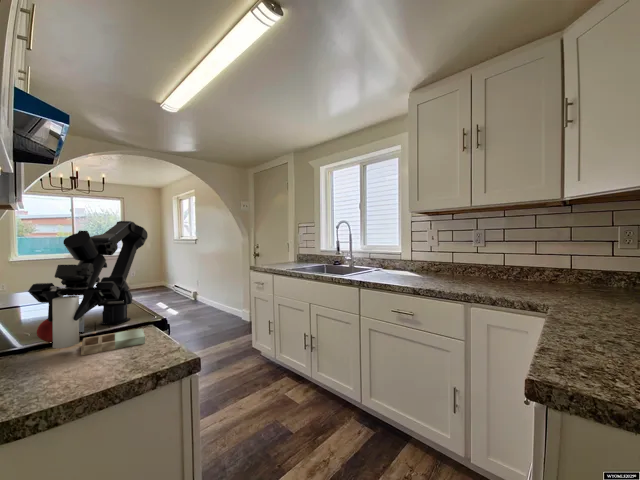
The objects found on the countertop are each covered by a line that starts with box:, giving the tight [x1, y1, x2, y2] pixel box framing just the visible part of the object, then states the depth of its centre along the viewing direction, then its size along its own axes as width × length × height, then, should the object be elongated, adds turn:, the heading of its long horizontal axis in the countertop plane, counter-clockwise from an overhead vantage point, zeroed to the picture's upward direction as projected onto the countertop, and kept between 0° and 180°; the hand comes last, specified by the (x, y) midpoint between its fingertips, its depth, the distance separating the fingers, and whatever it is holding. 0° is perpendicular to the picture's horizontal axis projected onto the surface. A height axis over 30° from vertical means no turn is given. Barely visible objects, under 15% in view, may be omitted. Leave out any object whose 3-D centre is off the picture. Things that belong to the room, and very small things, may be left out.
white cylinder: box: [52, 295, 80, 349], centre depth 70 cm, size 5×5×12 cm
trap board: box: [80, 327, 146, 356], centre depth 76 cm, size 14×8×2 cm, turn 128°
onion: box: [36, 318, 53, 344], centre depth 77 cm, size 6×6×8 cm
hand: (62, 320), depth 69 cm, fingers closed on white cylinder, 5 cm apart
